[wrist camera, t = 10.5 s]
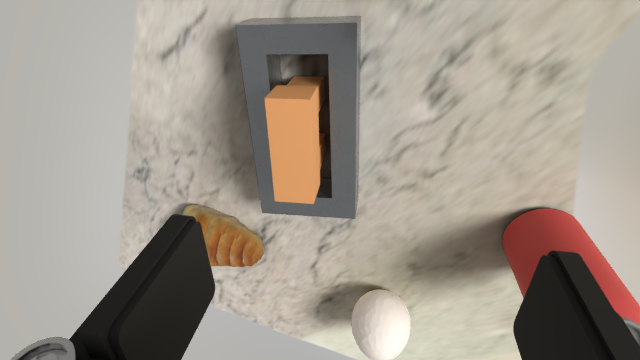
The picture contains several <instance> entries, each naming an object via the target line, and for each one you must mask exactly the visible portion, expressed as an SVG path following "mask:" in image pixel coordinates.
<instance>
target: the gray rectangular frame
mask: <svg viewBox="0 0 640 360" xmlns="http://www.w3.org/2000/svg"><path fill="white" fill-rule="evenodd" d="M360 30H361V16H349V17H306V18H263V19H250V20H247V21H245V22H242V23H240V24H237V25H236V32H237V39H238V46H239V53H240V60H241V67H242V74H243V81H244V88H245V95H246V102H247V109H248V117H249V124H250V131H251V138H252V145H253V152H254V159H255V166H256V173H257V180H258V187H259V194H260V201H261V208H262V213H272V214H287V215H303V216H319V217H335V218H351V219H355V217H356V209H357V202H358V171H359V100H360ZM279 54H328V66H329V103H330V139H331V176H332V178H320V186H319V189H318V192H317V196H316V199H315V202H314V204H306V203H292V202H278V201H275V198H274V188H273V178H272V168H271V158H270V148H269V138H268V128H267V118H266V108H265V97H266V96H267V95H268V94H269V93H270V92H271V91H272V90H273V89H274V88H275V86H276V85H282V77H281V66H280V55H279Z"/></svg>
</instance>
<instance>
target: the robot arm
mask: <svg viewBox="0 0 640 360" xmlns="http://www.w3.org/2000/svg"><path fill="white" fill-rule="evenodd" d="M214 292H215V283H214V279H213V274H212V270H211V266H210V261H209V257H208V253H207V248H206V244H205V239H204V235H203V231H202V226H201V223H200V222H198V221H196V219H195V218H194V217H193V216H187V215H176V214H174V215H172V216H171V217H170V218H169V219H168V220H167V221H166V223H165V224H164V225H163V226H162V228H161V229H160V230H159V231H158V232H157V234H156V235H155V236H154V237H153V238H152V240H151V241H150V242H149V243H148V245H147V246H146V247H145V248H144V249H143V251H142V252H141V253H140V254H139V255H138V257H137V258H136V259H135V260H134V261H133V263H132V264H131V265H130V266H129V268H128V269H127V270H126V271H125V272H124V274H123V275H122V276H121V277H120V279H119V280H118V281H117V282H116V283H115V285H114V286H113V287H112V288H111V289H110V291H109V292H108V293H107V294H106V295H105V297H104V298H103V299H102V300H101V302H100V303H99V304H98V305H97V306H96V308H95V309H94V310H93V311H92V312H91V314H90V315H89V316H88V317H87V318H86V320H85V321H84V322H83V323H82V325H81V326H80V327H79V328H78V329H77V331H76V332H75V333H74V334H73V336H72V337H71V338H70V339H69V340H68V339H66V338H62V337H52V338H47V339H44V340H40V341H37V342H35V343H33V344H31V345H29V346H27V347H26V348H24V349H23V350H21V351H20V352H19V353H17V354H16V355H15V356H14V357H13V358H12V359H11V360H181V359H182V357H183V355H184V353H185V351H186V349H187V347H188V345H189V343H190V341H191V339H192V337H193V335H194V333H195V331H196V329H197V327H198V326H199V323H200V322H201V320H202V318H203V316H204V314H205V312H206V310H207V308H208V306H209V304H210V302H211V300H212V298H213V296H214ZM514 336H515V339H516V342H517V345H518V349H519V352H520V355H521V358H522V360H640V346H639V344H638V343H637V341H636V339H635V338H634V336H633V335H632V333H631V331H630V330H629V328H628V327H627V325H626V323H625V322H624V320H623V319H622V318H621V316H620V315H619V314H618V313H617V312H615V310H614V309H613V307H612V305H611V304H610V302H609V301H608V299H607V297H606V296H605V294H604V292H603V291H602V289H601V288H600V286H599V284H598V283H597V281H596V279H595V278H594V276H593V275H592V273H591V271H590V270H589V268H588V267H587V265H586V263H585V262H584V260H583V258H582V257H581V256H580V255H579V254H578V253H576V252H565V251H555V250H553V251H550V252H549V253H548V255H543V256H541V258H540V260H539V262H538V265H537V267H536V270H535V272H534V275H533V277H532V280H531V282H530V284H529V287H528V289H527V292H526V294H525V297H524V299H523V302H522V304H521V306H520V309H519V311H518V314H517V316H516V319H515V321H514Z"/></svg>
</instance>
